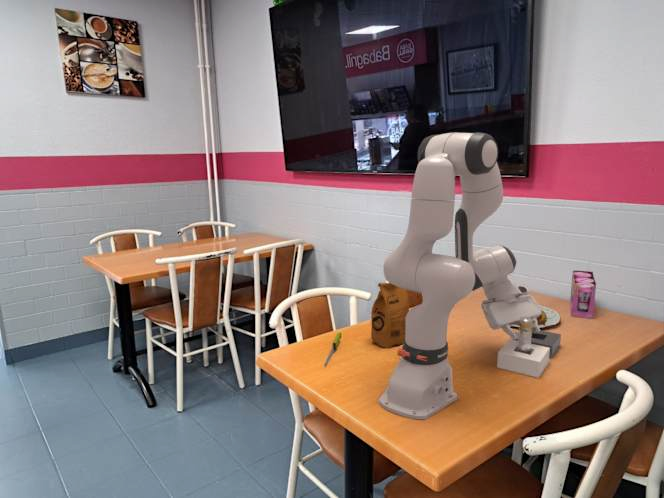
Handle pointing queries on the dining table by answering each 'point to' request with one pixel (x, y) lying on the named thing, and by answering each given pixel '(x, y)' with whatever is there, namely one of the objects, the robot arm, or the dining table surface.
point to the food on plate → (546, 317)
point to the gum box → (582, 294)
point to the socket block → (546, 340)
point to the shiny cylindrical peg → (525, 335)
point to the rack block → (523, 359)
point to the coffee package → (389, 315)
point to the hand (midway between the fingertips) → (526, 335)
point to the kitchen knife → (333, 347)
